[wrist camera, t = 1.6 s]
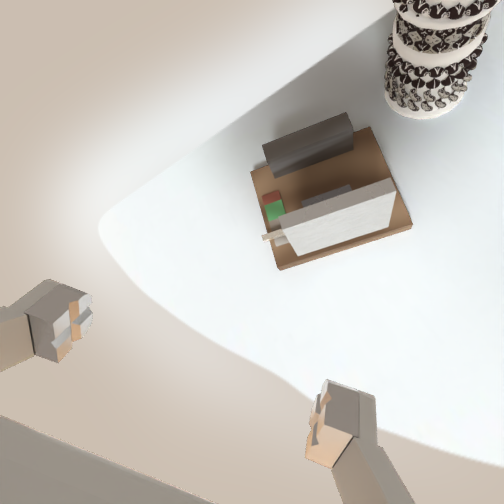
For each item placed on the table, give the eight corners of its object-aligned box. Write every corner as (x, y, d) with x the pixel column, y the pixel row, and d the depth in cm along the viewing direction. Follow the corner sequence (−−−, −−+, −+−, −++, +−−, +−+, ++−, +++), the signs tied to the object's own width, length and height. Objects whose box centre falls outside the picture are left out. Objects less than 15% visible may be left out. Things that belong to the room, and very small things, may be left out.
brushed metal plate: (387, 231, 35) (396, 190, 27) (272, 268, 38) (246, 241, 29) (369, 186, 37) (372, 134, 29) (259, 224, 39) (232, 187, 31)
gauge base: (410, 228, 37) (419, 208, 32) (280, 270, 39) (268, 257, 34) (369, 134, 41) (371, 102, 36) (253, 177, 43) (239, 153, 38)
